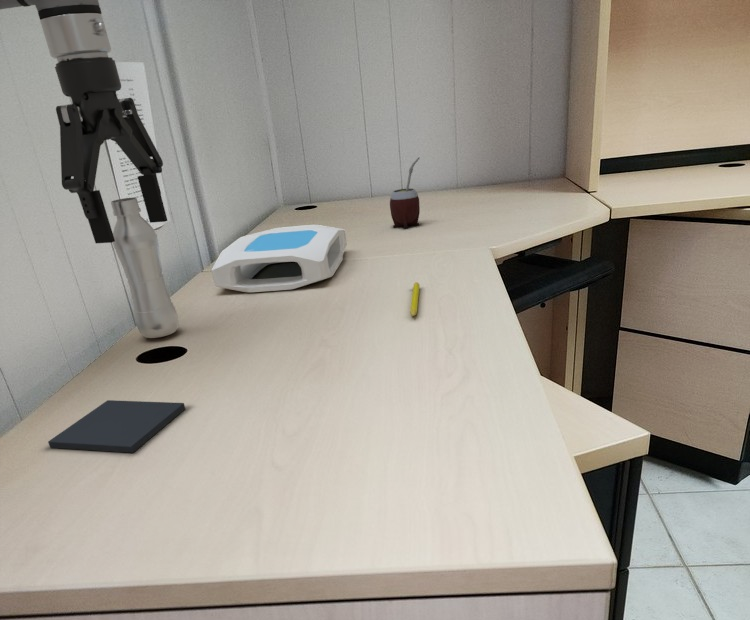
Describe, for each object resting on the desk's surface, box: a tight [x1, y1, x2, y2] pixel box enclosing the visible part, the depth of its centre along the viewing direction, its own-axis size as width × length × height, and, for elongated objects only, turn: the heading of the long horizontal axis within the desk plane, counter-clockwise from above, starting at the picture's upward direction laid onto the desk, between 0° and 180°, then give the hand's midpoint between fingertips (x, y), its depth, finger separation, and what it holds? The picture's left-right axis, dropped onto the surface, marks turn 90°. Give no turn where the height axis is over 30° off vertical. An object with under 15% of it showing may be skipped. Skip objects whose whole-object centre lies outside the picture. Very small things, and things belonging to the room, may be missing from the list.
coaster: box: [47, 399, 186, 454], centre depth 76 cm, size 11×11×1 cm
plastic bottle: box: [110, 197, 180, 339], centre depth 100 cm, size 6×7×20 cm
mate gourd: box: [389, 157, 421, 230], centre depth 156 cm, size 8×8×15 cm
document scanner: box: [210, 224, 347, 293], centre depth 131 cm, size 21×28×6 cm
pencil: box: [409, 282, 420, 317], centre depth 106 cm, size 16×1×1 cm, turn 175°
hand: (133, 231), depth 97 cm, fingers open, 13 cm apart
